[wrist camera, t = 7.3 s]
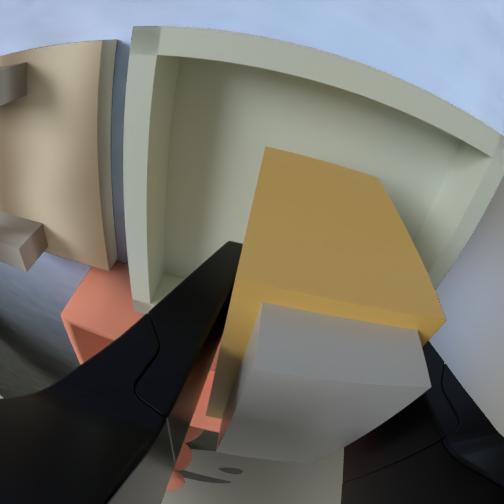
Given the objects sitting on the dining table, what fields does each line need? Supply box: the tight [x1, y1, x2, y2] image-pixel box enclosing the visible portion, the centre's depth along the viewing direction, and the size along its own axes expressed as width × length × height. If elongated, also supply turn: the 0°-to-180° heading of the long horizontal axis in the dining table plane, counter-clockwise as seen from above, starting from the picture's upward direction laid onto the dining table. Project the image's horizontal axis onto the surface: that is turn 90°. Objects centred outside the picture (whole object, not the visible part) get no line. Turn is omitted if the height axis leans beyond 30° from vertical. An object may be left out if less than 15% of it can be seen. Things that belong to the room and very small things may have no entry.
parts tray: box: [123, 26, 504, 314], centre depth 10 cm, size 11×11×2 cm
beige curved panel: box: [0, 40, 118, 272], centre depth 9 cm, size 11×10×3 cm
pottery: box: [61, 261, 223, 491], centre depth 16 cm, size 18×10×10 cm, turn 166°
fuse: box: [206, 146, 446, 463], centre depth 7 cm, size 3×5×6 cm, turn 169°
